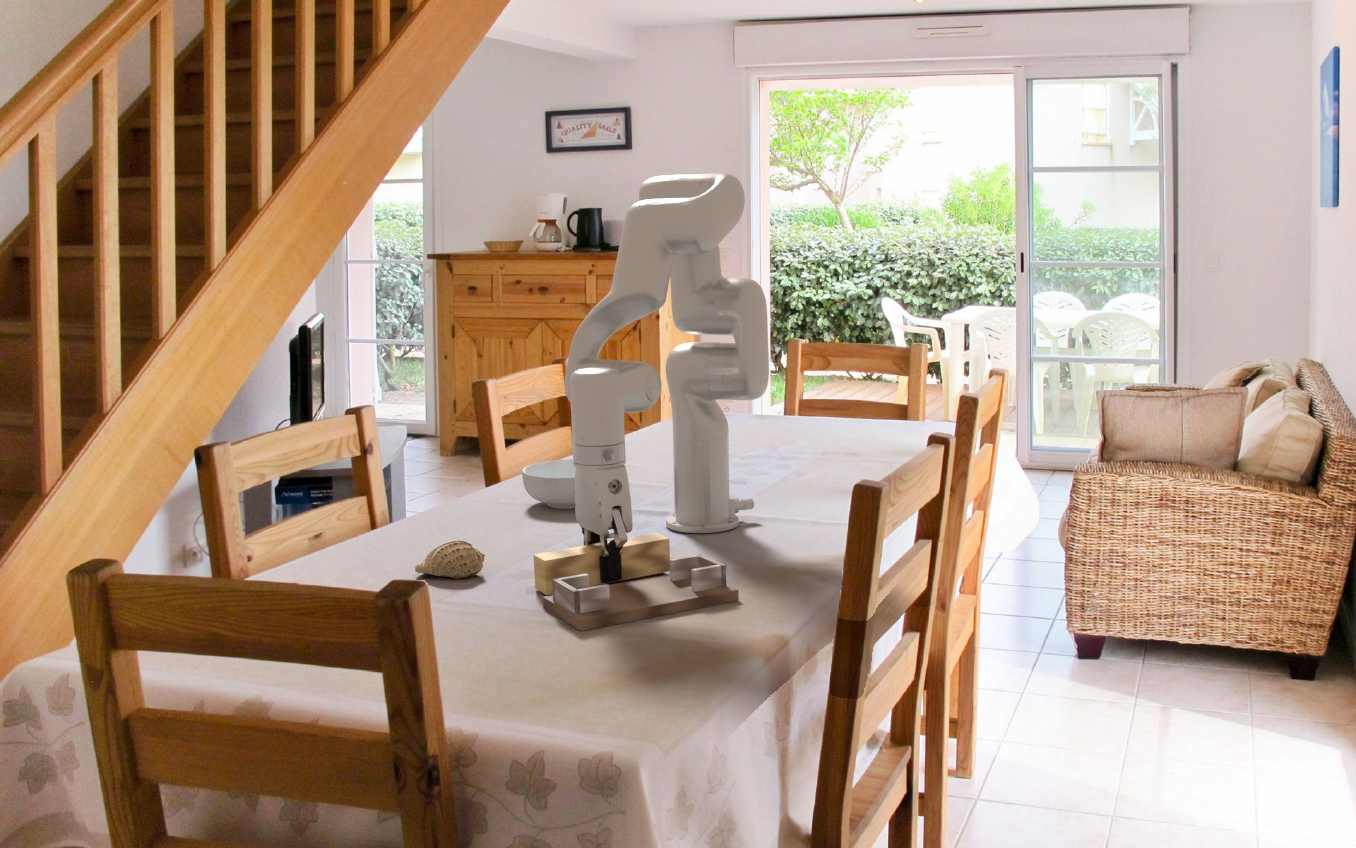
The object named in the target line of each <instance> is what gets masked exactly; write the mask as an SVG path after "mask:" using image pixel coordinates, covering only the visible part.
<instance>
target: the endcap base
mask: <svg viewBox="0 0 1356 848" xmlns="http://www.w3.org/2000/svg"><path fill="white" fill-rule="evenodd" d="M669 564H670V571H669V574H663V575H659V576H653V577H646V578H641V579H636V580H629V581H624V582H619V583H612V584H608V583H607V584H601V585H596V586H591V587H589V575H588V574H580V575H575V576H569V577H563V578H557V579H552V589H553V594H550V595H545V596H542V607H543V608H544V609H545V610H547V611H548V612H550V613H551V614H553V615H555V616H556V617H558V618H559V619H561V620H563V621H564V622H566V623H567V624H569V625H571V626H572V627H574V628H576V630H578V631H580V632H582V631H587V630H593V629H599V628H602V627H603V628H604V627H608V626H614V625H618V624H619V625H620V624H623V623H628V622H629V623H630V622H634V621H639V620H643V619H649V618H654V617H659V616H665V615H670V614H675V613H681V612H685V611H691V610H695V609H699V608H700V609H701V608H706V607H711V606H715V605H716V606H717V605H721V604H726V603H731V602H732V603H733V602H736V601H737V600H738V601H739V589H738V588H735V587H733V586H731V585H729V584H727V564H724V563H722V562H720V561H717V560H715V559H713V558H710V557H708V556H705V555H704V554H702V553H697V554H693V555H688V556H681V557H675V558H670V559H669Z"/></svg>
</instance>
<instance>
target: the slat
mask: <svg viewBox="0 0 1356 848" xmlns="http://www.w3.org/2000/svg"><path fill="white" fill-rule="evenodd" d="M627 538H628V541H627V542H626V543H625V544H624V545H623V547H622V554H621V568H622V579H621V580H620V581H619V582H621V581H627V580H631V579H637V578H641V577H646V576H652V575H657V574H662V573H668V572H670V564H669V559H671V553H670V551H671V550H670V538H669V537H667V536H665V535H663V534H660V533H658V532H653V533H652V532H651V533H646V534H642V535H635V536H631V537H630V536H629V537H627ZM610 541H611V540H607V543H608V544H609V542H610ZM600 556H603V555H602V550H601V543H595V544H590V545H584V544H583V545H579V546H575V547H569V548H562V549H558V550H552V551H551V550H550V551H545V552H541V553H534V554H533V572H534V587H535V589H536V590H538V591H539V592H541V593H542V594H544V595H545V596H550V595H553V589H552V579H557V578H563V577H569V576H575V575H580V574H588V575H589V587H594V586H599V585H605V584H607V585H608V584H611V583H612V584H613V583H616V582H618V581H614V582H609V583H602V582H601V581H600Z"/></svg>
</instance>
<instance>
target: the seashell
mask: <svg viewBox="0 0 1356 848" xmlns="http://www.w3.org/2000/svg"><path fill="white" fill-rule="evenodd" d="M485 556H486V554H484V553H483V552H481V550H479V549H477V548H474V547H473V545H472V544H471V543H469V542H468V541H464V540H454V541H450V542H446V543H443V544H441V545H439V546H437V547H436V548H434V549H433V550H431V551H430V552H429V553H428V554H427V556H426V557H425V558H424V560H423V561H422V562H420V563H417V564H415V566H414V571H415V572H416V573H417V574H427V575H428V574H429V575H432V576H437V577H445V578H453V579H468V578H472V577H474V576H476V575H478V574H479V573H480V572H481V571H482V569H483V567H484V561H485Z"/></svg>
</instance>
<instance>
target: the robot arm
mask: <svg viewBox="0 0 1356 848" xmlns="http://www.w3.org/2000/svg"><path fill="white" fill-rule="evenodd" d="M638 200H639V201H637V202H635V203H634V204H631V206H630V207H629V208H628V210H627V211H626V213H625V215H624V216H625V217H624V221H623V225H622V231H621V233H620V234H621V236H620V241H619V246H618V251H617V255H616V256H617V257H616V259H615V260H616V261H615V267H614V270H613V276H612V281H611V282H612V283H611V287H610V290H609V291H608V293H607V294H606V295H605V296H604V297H603V298H602V299H601V300H600V301H599V302H597V303H596V304H595V305H594V307H593V308H591V310H590V311H589V312H588V314H587V315H586V316H585V317H584V319H583V320H582V322H581V323H580V324H579V326H578V327H577V329H576V330H575V332H574V334H573V337H572V340H571V344H570V347H569V353H568V358H567V360H566V361H567V363H566V366H565V367H566V368H565V373H564V374H565V375H564V389H565V395H566V398H567V399H568V402H569V403H570V411H571V413H570V414H571V415H570V416H571V417H570V418H571V439H572V459H573V466H574V467H576V470H575V508H574V511H575V519H576V522H577V524H578V525H579V526H580V528H581V534H582V535H583V546H584V545H590V544H595V543H601V550H602V555H603V556H600V581H601V582H602V583H607V584H610V583H609V582H612V583H615V582H614V581H617V582H621V581H620V580H621V579H622V568H621V554H622V547H623V545H624V544H625V543H626V542H627V541H628V538H629V537H628V535H627V534H629V533H631V532H632V531H633V526H634V525H633V510H632V499H631V489H630V482H629V478H628V477H629V476H628V471H627V466H626V441H625V440H626V436H625V432H626V431H625V414H628V413H629V414H630V413H631V414H632V413H641V412H642V413H643V412H645V411H648V410H649V409H651V408H653V406H654V405H656V403H657V402H658V401H659V398H660V396H661V392H662V378H661V375H660V373H659V372H658V370H657V369H656V368H655V367H654V366H653V365H651V364H649V363H648V362H643V361H640V360H639V361H638V360H637V361H636V360H619V359H618V360H615V359H599V356H600V353H601V351H602V348H603V347H604V345H605V344H606V343H607V341H608V340H609V339H610V337H611V338H612V336H613V335H614V334H615V333H616V332H618V331H620V330H621V329H622V328H624V327H626V326H628V325H630V324H632V323H634V322H636V321H638V320H640V319H642V318H645V317H646V316H649V315H651V314H653V313H655V312H658V311H659V310H660V309H661V308H662V307H664V304H666V301H667V296H668V290H669V285H670V300H671V303H670V304H671V312H672V313H671V314H672V320H673V323H674V326H675V328H676V329H677V330H678V331H680V332H681V333H684V334H689V335H699V336H732V338H733V339H734V342H714V341H709V342H708V341H707V342H706V341H705V342H704V341H693V342H692V341H691V342H685V343H682V344H678V345H677V346H675V347H673V349H671V350H670V352H669V353H668V355H667V358H666V359H665V376H666V377H665V378H666V381H667V386H668V387H667V388H668V391H669V397H670V398H669V399H670V405H671V416H672V450H673V451H672V453H673V455H672V456H673V497H674V498H673V499H674V507H673V508H674V514H672V515H669V516H668V517H666V519H665V526H666V527H667V528H668V529H669V530H672V531H675V532H679V533H689V534H711V533H712V534H713V533H714V534H715V533H722V532H726V531H730V530H734V529H735V528H737V527H738V526H739V524H740V519H739V517H738V516H737V515H736V514H738V513H739V512H740V511H747V510H748V511H749V510H753V509H754V507H755V502H754V500H753V498H751V497H750V498H749V497H748V498H743V499H739V498H738V497H737V498H734V497H731V496H730V458H729V457H730V452H729V451H730V448H729V446H730V444H729V436H730V434H729V433H730V432H729V429H730V428H729V424H728V423H729V421H728V419H727V417H726V414H725V413H724V411H723V409H722V407H721V406H720V405H719V404H718V402H717V400H729V401H754V400H757V399H759V398H761V397H762V396H763V395H764V394H765V392H766V391H767V389H768V385H769V377H770V375H769V374H770V357H769V325H768V307H767V300H766V296H765V292H764V291H763V288H762V287H761V284H759V283H758V281H755V280H754V279H751V278H747V277H724V276H723V275H722V270H721V267H722V266H721V251H720V245H719V244H721V242H722V241H723V240H724V239H725V238H726V237H727V235H729V233H731V231H732V230H733V229H734V228H735V227H736V226H737V224H738V223H739V221H740V220H741V218H742V216H743V213H744V210H745V205H746V203H745V202H746V197H745V191H744V187H743V185H742V183H741V181H740V180H739V179H738V178H737V177H736V176H734V175H733V174H731V173H730V174H729V173H723V172H722V173H721V172H719V173H718V172H716V173H695V174H694V173H691V174H690V173H683V174H681V173H680V174H679V173H678V174H666V175H658V176H653V177H651V178H648V179H646V180H644V182H643V183H642V184H641V185H640V187H639V190H638ZM609 530H613V532H609ZM608 539H612V540H609V541H610V542H609V544H608V543H607V541H608Z"/></svg>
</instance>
